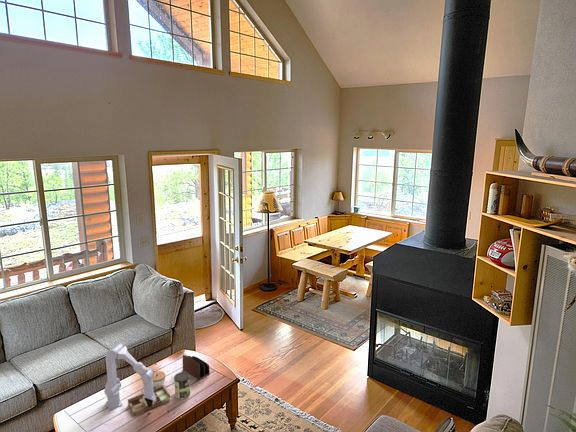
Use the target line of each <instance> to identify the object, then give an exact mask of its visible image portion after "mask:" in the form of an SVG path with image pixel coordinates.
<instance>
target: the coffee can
mask: <svg viewBox="0 0 576 432" xmlns="http://www.w3.org/2000/svg"><path fill="white" fill-rule="evenodd" d="M190 376H191V375H190V374H189V373H187V372H185V371H181V372H178V373H176V374H174V377H173V380H174V381H173V383H174V397H175V399H178V400H184V399H187V398H189V396H190V395H191V382H190V378H191V377H190Z"/></svg>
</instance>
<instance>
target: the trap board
mask: <svg viewBox="0 0 576 432" xmlns="http://www.w3.org/2000/svg"><path fill="white" fill-rule="evenodd" d="M165 387H166V386H164V385H162V386H160V387H158V388H153V390H154V394H155V398H156V402H153V403H152V406H151V407H148V406H146V405H145V404H144V398H143V396H144V394H143V393H141V394H138V395H136V396H134V397H131V398H129V399H127V404H128V405H127V406H128V407H129V409H130V411H131V413H132V415H133V416H137V415H139V414H141V413H145V412H146V411H149V410H151V409H154V408H156V407H158V406H160V405H162V404H165V403H167V402H169V401H171V394H170V393H169V391H168V390H167V389H166V388H165Z"/></svg>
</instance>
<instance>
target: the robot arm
mask: <svg viewBox="0 0 576 432" xmlns="http://www.w3.org/2000/svg"><path fill="white" fill-rule="evenodd" d="M116 360H124V362H127V363H128V364H130V365H131V366H132V369H133V370H134V372H136V373H137V374H138V375H139V376H140V380H141V381H142V384H143V389H141V392H142V394H144V396H143V398H144V399H145V401H146V403H147V405H148V407H151V406H152V403H156V402H157V400H156V398H155V394H154V390H153V389H154V387H153V375H154V369H152V368H149V367H146V366H145V364H143V362H141V361H137V360H136V359H135V357H133V356H132V355H131V353H129V351H128V347H127V346H125V344H124V343H121V342H119V343H117V344H116V345H114V346H113V347H112V348H111V349H109V350H108V351H107V352H106V355H105V365H106V375H107V381H106V383H105V385H104V390H103V392H104V394H105V395H106V401H105V403H106V406H107V408H108V410H109V411H111V410H114V409H116V408H119V407H122V406H123V402H122V401H121V396H120V390H121V387H122V382H121V380H120V378H119V377H118V376H117V375H118V374H117V364H116Z"/></svg>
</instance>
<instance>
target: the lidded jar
mask: <svg viewBox="0 0 576 432" xmlns="http://www.w3.org/2000/svg"><path fill="white" fill-rule="evenodd" d="M165 381H166V373H165V372H164V371H161V370H160V371H155V372H154V375H153V389H155V388H158V387H160V386H164V384H165Z"/></svg>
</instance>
